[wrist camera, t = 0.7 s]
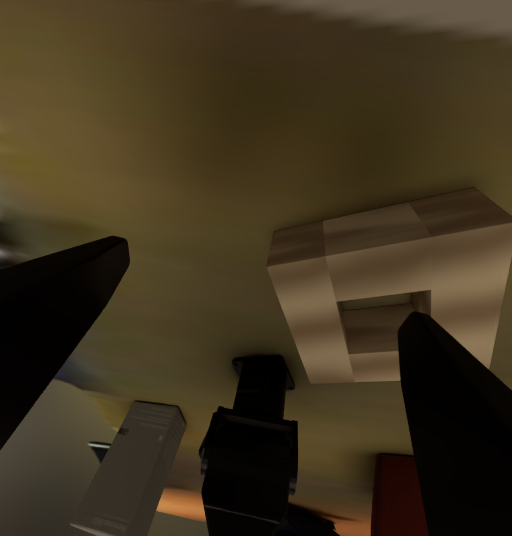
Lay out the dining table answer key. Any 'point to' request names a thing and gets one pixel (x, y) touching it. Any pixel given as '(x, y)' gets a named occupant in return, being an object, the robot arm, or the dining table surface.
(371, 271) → the socket block
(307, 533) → the decorative plant
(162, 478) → the skincare box
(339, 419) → the dining table surface
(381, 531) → the plant pot
